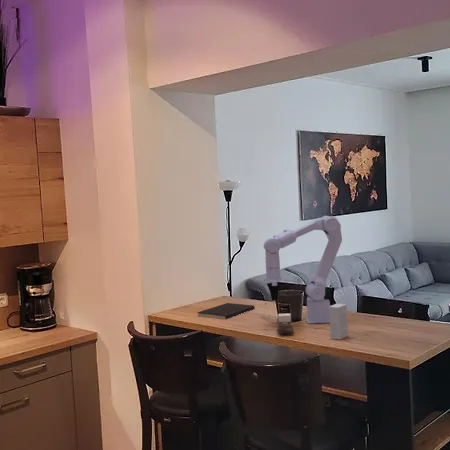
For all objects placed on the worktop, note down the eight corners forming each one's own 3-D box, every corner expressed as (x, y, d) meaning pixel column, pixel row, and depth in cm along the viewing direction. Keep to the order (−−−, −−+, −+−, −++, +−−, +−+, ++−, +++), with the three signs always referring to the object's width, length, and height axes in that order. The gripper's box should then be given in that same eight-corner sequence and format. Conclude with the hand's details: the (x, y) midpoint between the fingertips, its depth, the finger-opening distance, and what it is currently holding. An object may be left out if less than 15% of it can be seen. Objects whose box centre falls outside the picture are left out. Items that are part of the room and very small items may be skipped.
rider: (290, 321, 228) (289, 313, 227) (291, 324, 224) (290, 315, 223) (278, 322, 228) (278, 313, 228) (279, 324, 224) (278, 316, 224)
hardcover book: (197, 317, 263) (197, 312, 263) (227, 307, 281) (227, 302, 281) (225, 320, 254) (225, 315, 253) (254, 310, 272) (254, 305, 272)
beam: (291, 326, 234) (290, 316, 234) (294, 335, 220) (293, 324, 220) (276, 327, 234) (275, 317, 234) (278, 336, 220) (277, 325, 220)
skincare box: (337, 334, 218) (336, 303, 217) (348, 336, 215) (346, 304, 214) (329, 338, 213) (328, 306, 212) (340, 340, 210) (338, 307, 209)
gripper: (262, 265, 246) (264, 297, 246) (263, 270, 231) (265, 304, 232) (279, 264, 245) (280, 296, 246) (281, 269, 231) (283, 303, 232)
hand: (274, 300), depth 239 cm, fingers closed
